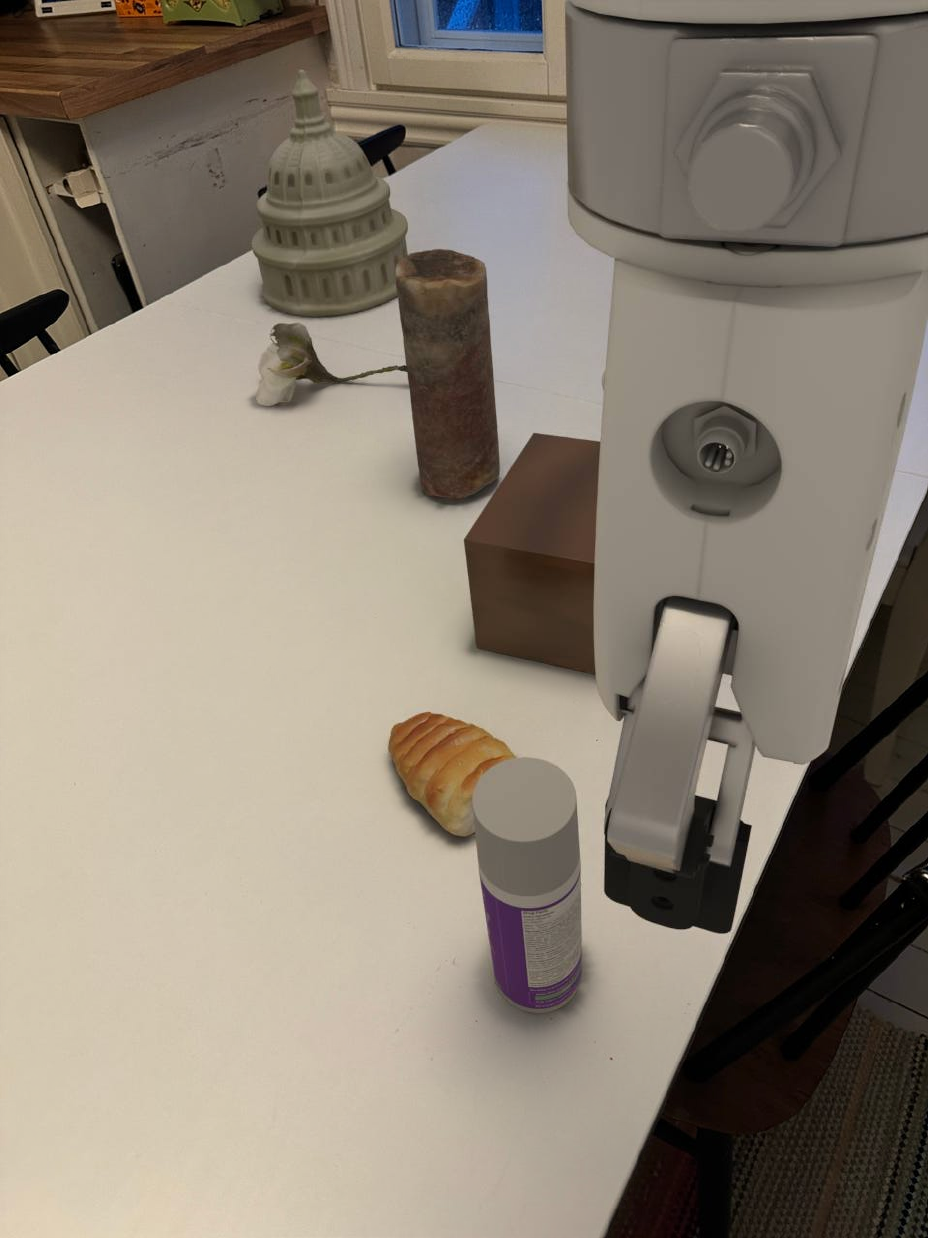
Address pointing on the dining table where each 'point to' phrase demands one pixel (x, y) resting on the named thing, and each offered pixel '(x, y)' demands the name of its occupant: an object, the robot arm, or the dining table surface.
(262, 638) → the dining table surface
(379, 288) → the dome
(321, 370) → the artificial flower
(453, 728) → the pastry
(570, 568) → the shelf
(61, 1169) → the dining table surface
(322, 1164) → the dining table surface
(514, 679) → the dining table surface
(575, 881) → the container
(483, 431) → the brown rounded bar
